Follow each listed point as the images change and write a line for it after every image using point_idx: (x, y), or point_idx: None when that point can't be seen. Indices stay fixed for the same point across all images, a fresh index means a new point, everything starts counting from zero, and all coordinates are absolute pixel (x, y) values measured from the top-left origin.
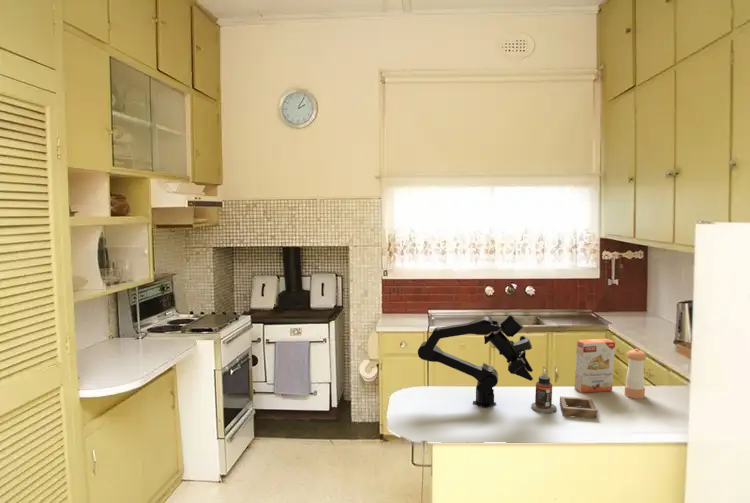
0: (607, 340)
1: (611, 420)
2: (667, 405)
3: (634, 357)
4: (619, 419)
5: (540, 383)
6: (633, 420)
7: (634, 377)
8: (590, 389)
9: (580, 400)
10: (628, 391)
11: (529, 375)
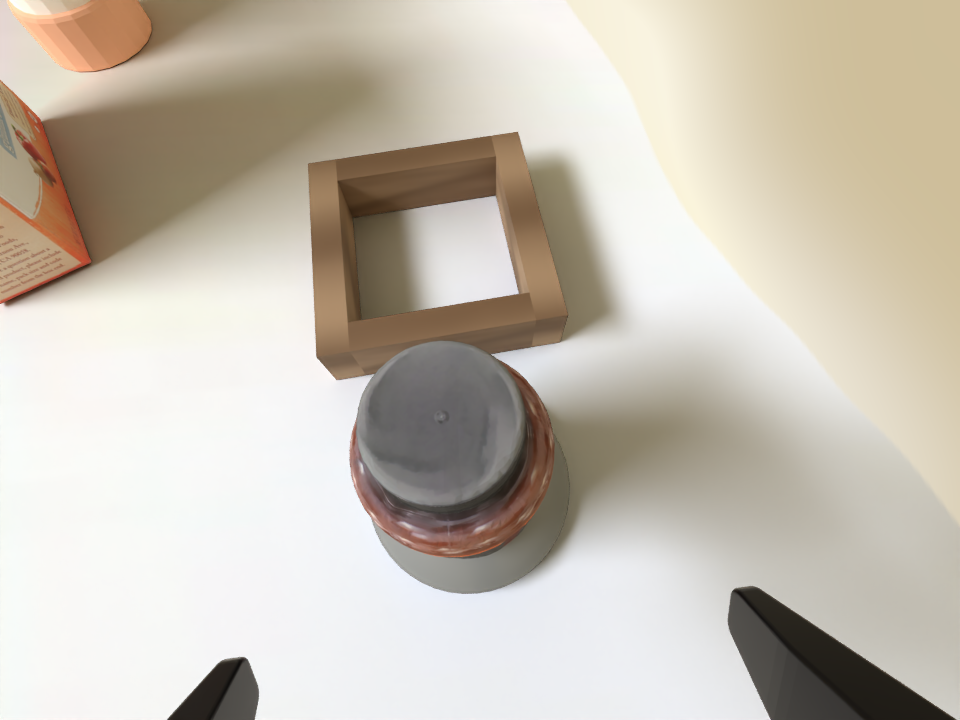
0: None
1: (506, 114)
2: None
3: None
4: (476, 86)
5: (519, 479)
6: (463, 41)
7: None
8: (61, 200)
9: (342, 228)
10: (107, 26)
11: (874, 681)
